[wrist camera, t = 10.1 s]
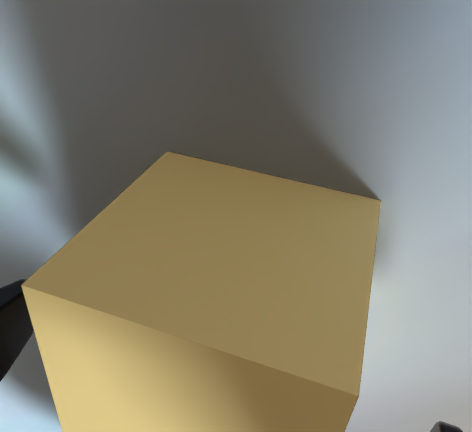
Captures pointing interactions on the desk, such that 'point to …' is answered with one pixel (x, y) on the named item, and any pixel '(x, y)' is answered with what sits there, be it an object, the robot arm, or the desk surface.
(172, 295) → the mustard box
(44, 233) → the desk surface
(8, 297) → the robot arm
